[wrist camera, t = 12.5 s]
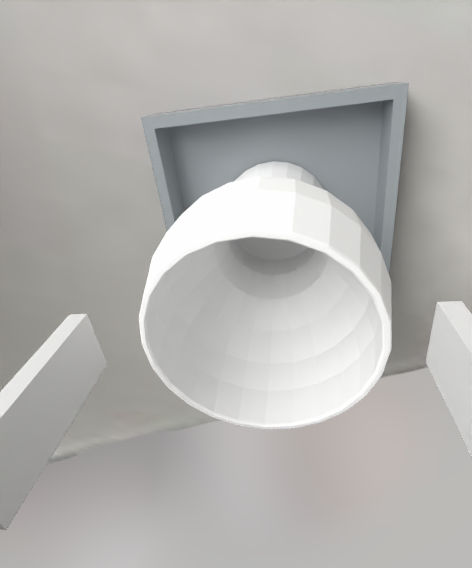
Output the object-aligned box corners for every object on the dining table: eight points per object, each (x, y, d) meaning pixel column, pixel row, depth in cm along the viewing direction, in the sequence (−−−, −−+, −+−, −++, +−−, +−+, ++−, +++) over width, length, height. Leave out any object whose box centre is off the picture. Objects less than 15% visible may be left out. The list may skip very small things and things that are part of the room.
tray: (196, 301, 32) (188, 321, 29) (157, 113, 24) (140, 117, 22) (376, 295, 29) (384, 317, 26) (394, 82, 22) (408, 82, 19)
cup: (195, 144, 24) (89, 218, 12) (355, 132, 23) (439, 205, 10) (213, 278, 30) (153, 431, 17) (344, 277, 28) (388, 446, 15)
